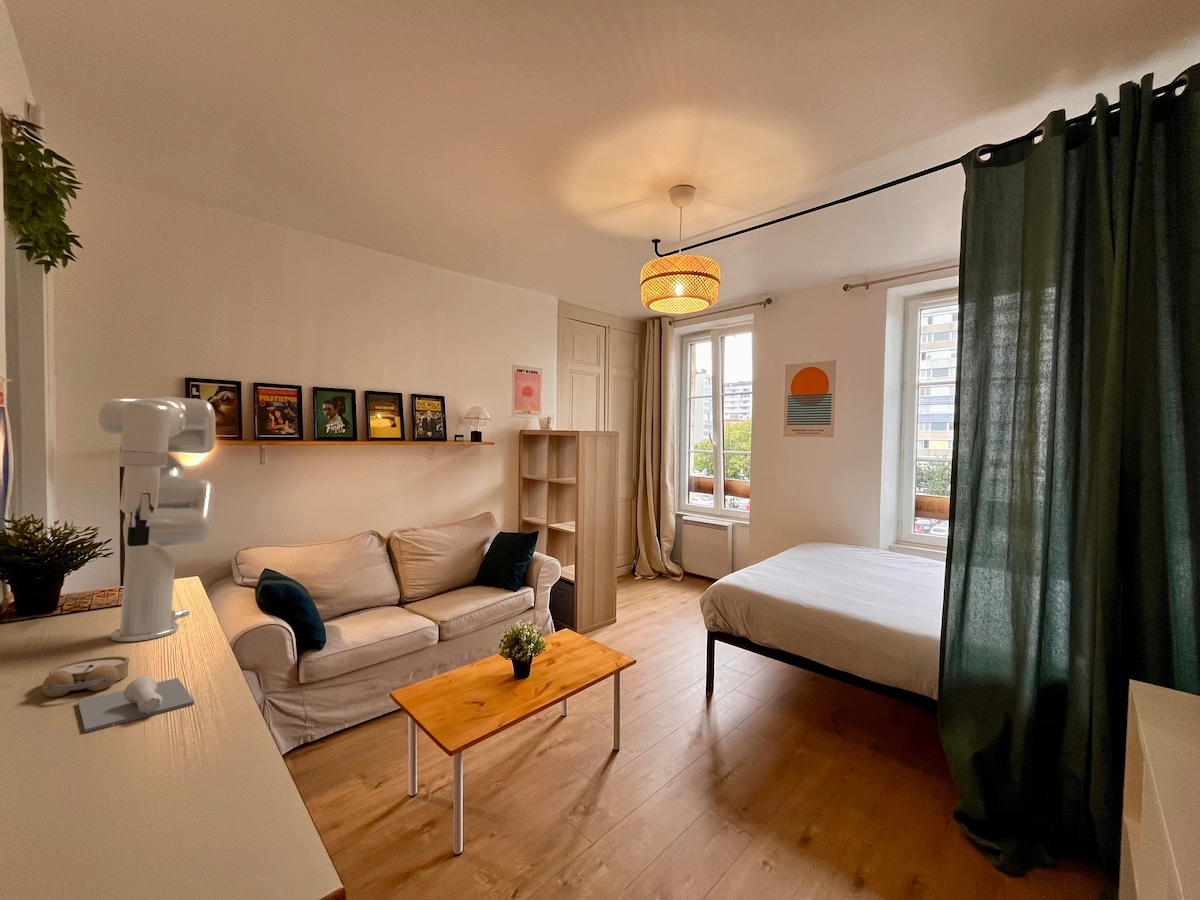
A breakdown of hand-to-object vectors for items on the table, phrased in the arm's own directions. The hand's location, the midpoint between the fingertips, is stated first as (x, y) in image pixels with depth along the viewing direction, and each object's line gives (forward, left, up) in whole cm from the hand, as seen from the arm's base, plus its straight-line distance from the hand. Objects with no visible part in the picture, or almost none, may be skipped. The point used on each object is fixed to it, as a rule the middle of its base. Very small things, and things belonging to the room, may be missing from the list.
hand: (137, 544), depth 106 cm
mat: (+12, +18, -26) cm, 34 cm away
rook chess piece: (+12, +18, -23) cm, 32 cm away
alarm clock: (+8, +1, -27) cm, 28 cm away
